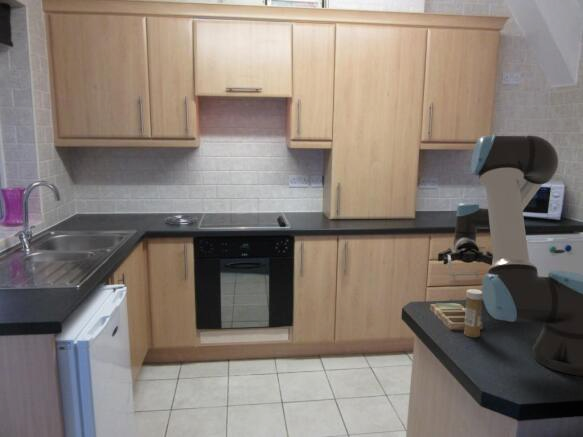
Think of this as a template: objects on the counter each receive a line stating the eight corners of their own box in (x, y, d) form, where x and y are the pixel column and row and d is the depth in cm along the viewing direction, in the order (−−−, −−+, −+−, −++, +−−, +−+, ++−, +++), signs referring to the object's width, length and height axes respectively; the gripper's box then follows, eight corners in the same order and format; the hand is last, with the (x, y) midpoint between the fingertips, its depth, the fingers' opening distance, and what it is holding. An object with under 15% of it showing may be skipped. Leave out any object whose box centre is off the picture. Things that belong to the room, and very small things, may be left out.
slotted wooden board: (482, 329, 133) (483, 322, 133) (450, 329, 133) (450, 322, 132) (459, 309, 150) (459, 303, 149) (430, 309, 149) (430, 303, 149)
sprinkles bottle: (483, 337, 128) (487, 293, 126) (469, 338, 127) (472, 294, 125) (473, 330, 132) (477, 288, 130) (460, 331, 131) (463, 288, 129)
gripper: (504, 263, 153) (515, 281, 133) (429, 257, 161) (430, 273, 141) (506, 242, 152) (518, 257, 132) (431, 237, 159) (431, 251, 139)
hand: (472, 266), depth 136 cm, fingers open, 13 cm apart
